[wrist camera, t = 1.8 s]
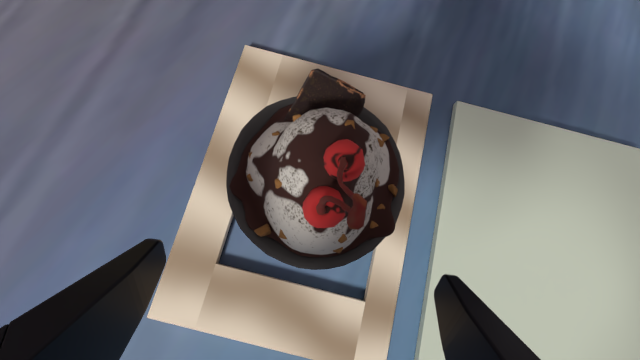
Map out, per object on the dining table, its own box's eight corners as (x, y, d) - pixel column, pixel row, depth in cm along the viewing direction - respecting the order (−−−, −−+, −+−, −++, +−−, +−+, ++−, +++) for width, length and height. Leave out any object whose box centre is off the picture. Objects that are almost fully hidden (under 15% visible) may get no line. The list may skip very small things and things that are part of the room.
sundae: (313, 279, 19) (352, 379, 5) (242, 211, 20) (89, 121, 6) (375, 207, 21) (551, 118, 6) (306, 146, 22) (321, -64, 7)
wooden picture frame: (380, 373, 18) (383, 377, 18) (151, 315, 18) (146, 317, 18) (429, 98, 23) (432, 94, 22) (246, 50, 23) (245, 45, 22)
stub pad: (635, 437, 19) (646, 444, 18) (410, 380, 18) (414, 385, 18) (633, 151, 23) (641, 149, 23) (453, 104, 23) (457, 100, 23)
